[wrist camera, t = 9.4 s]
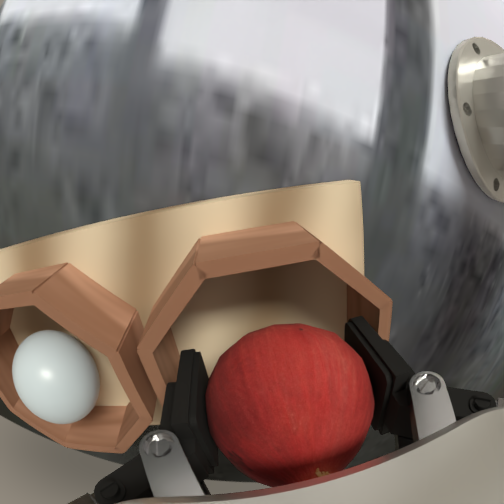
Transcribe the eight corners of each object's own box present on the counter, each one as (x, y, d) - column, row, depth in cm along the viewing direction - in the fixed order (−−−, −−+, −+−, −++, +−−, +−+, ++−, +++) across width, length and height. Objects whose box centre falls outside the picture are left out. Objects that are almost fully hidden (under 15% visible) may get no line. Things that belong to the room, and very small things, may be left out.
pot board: (349, 179, 14) (402, 189, 9) (350, 378, 18) (378, 426, 13) (-14, 253, 12) (-60, 280, 8) (60, 410, 16) (41, 453, 12)
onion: (298, 398, 14) (343, 527, 6) (191, 376, 13) (185, 531, 5) (353, 307, 13) (457, 433, 5) (233, 269, 11) (263, 442, 4)
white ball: (90, 308, 13) (48, 367, 8) (123, 382, 15) (102, 447, 10) (25, 316, 13) (-20, 364, 8) (59, 383, 14) (30, 436, 9)
